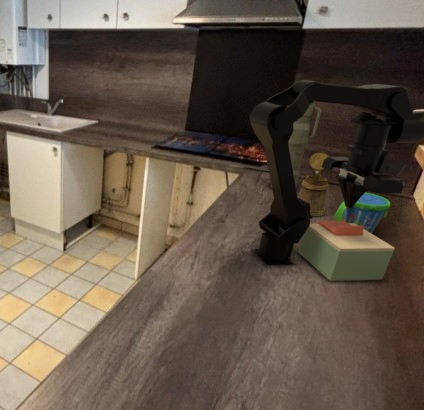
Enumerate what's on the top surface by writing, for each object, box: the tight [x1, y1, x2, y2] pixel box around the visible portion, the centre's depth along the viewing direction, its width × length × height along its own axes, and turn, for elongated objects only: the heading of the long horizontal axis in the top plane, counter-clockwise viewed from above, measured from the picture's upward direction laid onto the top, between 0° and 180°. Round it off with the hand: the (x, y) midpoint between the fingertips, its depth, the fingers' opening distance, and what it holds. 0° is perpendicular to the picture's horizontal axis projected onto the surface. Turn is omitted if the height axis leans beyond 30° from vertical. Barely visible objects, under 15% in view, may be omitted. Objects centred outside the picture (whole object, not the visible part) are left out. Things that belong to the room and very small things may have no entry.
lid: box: [308, 223, 396, 252], centre depth 83 cm, size 12×12×1 cm
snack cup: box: [333, 192, 391, 234], centre depth 102 cm, size 16×10×10 cm
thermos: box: [270, 101, 322, 189], centre depth 129 cm, size 9×12×35 cm
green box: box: [298, 228, 394, 282], centre depth 85 cm, size 12×12×8 cm
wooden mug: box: [297, 150, 331, 217], centre depth 115 cm, size 9×14×18 cm, turn 149°
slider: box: [317, 220, 364, 235], centre depth 86 cm, size 7×6×2 cm
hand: (348, 207), depth 86 cm, fingers closed
